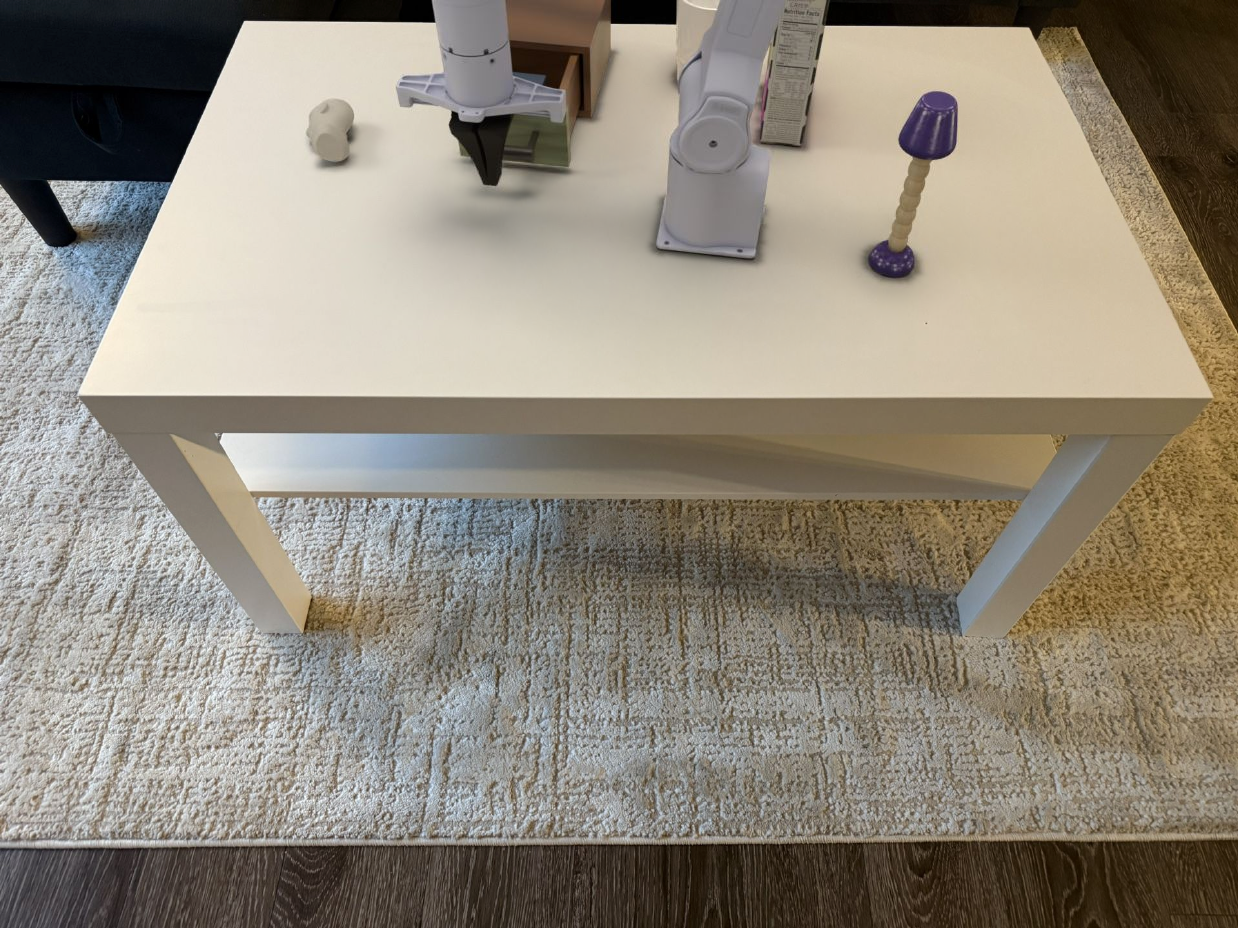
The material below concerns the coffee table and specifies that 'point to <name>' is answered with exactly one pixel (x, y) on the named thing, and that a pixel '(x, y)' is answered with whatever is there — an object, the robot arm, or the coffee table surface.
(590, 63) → the cabinet
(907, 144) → the toy lamp
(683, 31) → the white cup
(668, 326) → the coffee table surface
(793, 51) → the candy bar box
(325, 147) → the pale two-lobed sculpture
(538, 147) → the drawer
